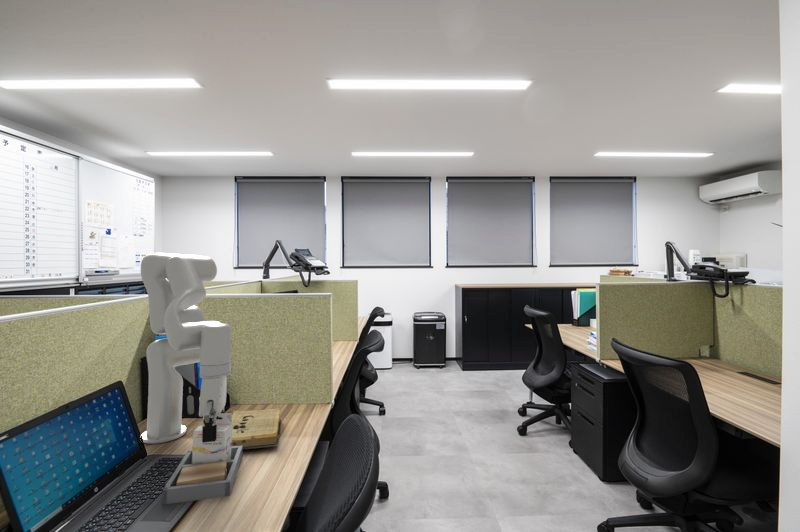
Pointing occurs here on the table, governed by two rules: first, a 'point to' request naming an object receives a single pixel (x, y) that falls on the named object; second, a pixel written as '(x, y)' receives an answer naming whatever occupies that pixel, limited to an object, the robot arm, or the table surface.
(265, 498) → the table surface
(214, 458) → the ink cartridge box
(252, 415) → the book
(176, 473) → the rack
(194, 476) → the offcut top
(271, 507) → the table surface
